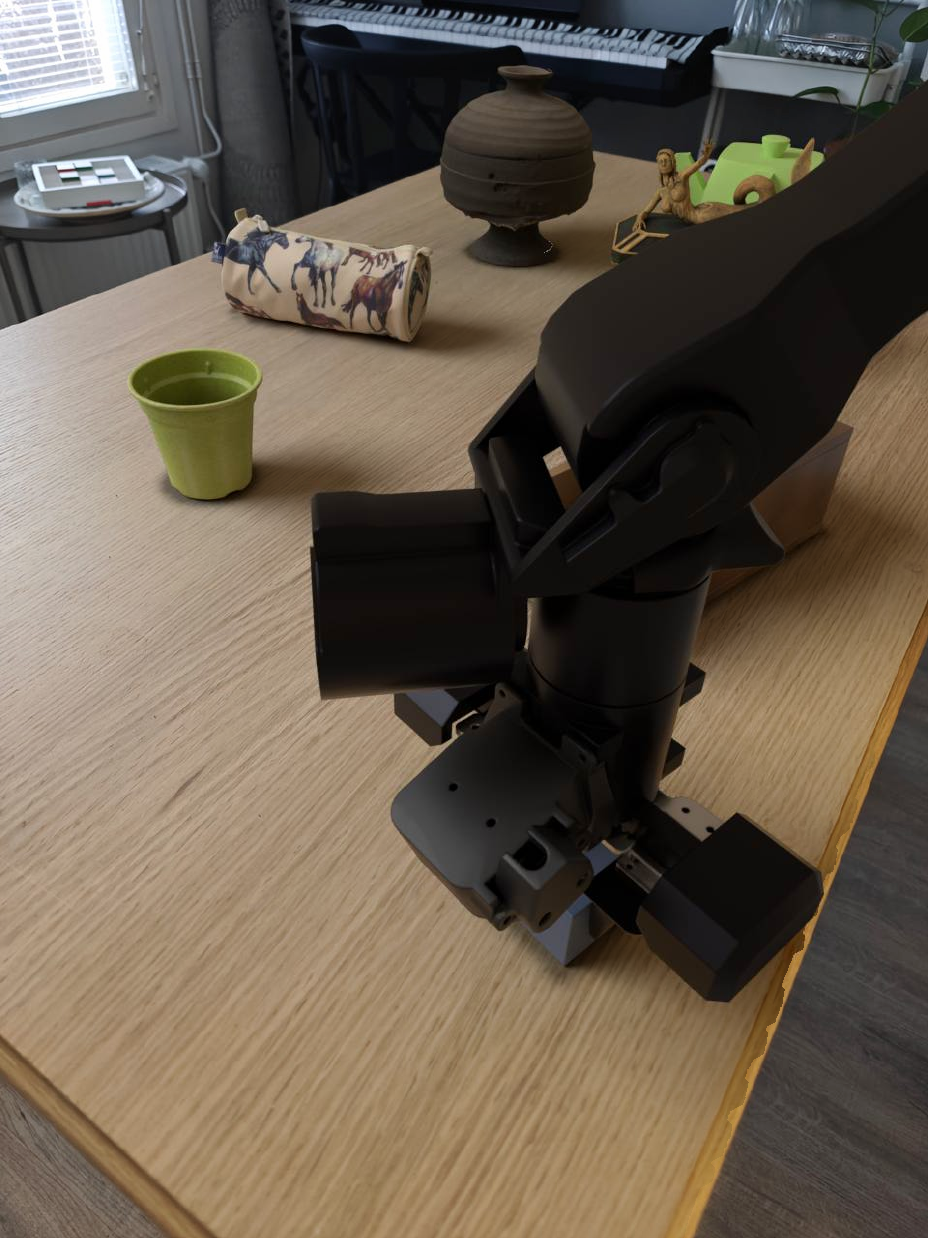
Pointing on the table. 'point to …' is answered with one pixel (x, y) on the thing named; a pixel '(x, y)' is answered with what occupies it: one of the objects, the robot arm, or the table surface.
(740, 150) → the teapot
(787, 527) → the cabinet
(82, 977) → the table surface
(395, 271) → the pencil case
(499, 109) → the pot
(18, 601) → the table surface
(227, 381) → the plant pot
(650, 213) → the decorative box
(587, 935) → the block
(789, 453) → the robot arm
